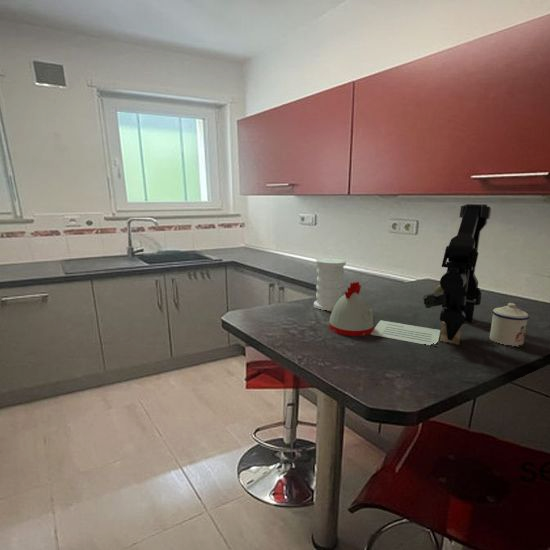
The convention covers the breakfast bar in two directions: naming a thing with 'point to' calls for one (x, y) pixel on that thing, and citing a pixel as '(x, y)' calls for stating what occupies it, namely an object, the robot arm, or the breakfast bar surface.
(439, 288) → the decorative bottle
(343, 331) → the kitchen timer
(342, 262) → the decorative container
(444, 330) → the block
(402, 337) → the letter
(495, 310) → the teacup with lid
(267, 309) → the breakfast bar surface
